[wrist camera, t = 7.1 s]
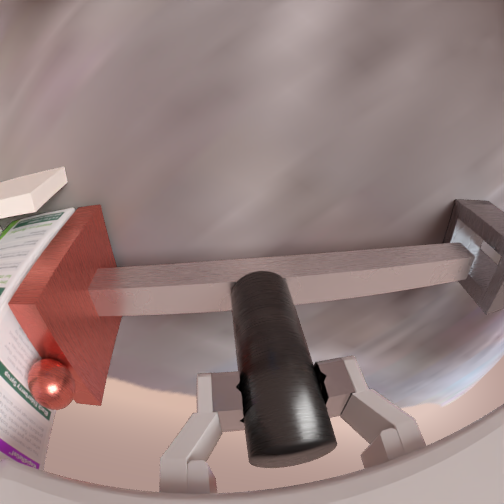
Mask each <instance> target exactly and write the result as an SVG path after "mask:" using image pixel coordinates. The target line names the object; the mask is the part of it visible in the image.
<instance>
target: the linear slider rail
mask: <svg viewBox="0 0 504 504" xmlns="http://www.w3.org/2000/svg"><path fill="white" fill-rule="evenodd" d="M474 259H475V256H474V255H473V254H472V253H471V252H470V251H469V250H468V249H467V248H466V247H465V246H463V245H462V244H461V243H460V242H455V243H443V244H431V245H419V246H407V247H394V248H381V249H369V250H356V251H343V252H330V253H316V254H303V255H289V256H276V257H262V258H248V259H234V260H220V261H206V262H191V263H176V264H162V265H147V266H131V267H117V266H116V262H115V259H114V256H113V252H112V249H111V245H110V241H109V238H108V234H107V230H106V226H105V222H104V218H103V214H102V209H101V205H93V206H86V207H79V208H78V209H77V210H76V211H75V212H74V213H73V215H72V216H71V217H70V218H69V219H68V221H67V222H66V223H65V224H64V225H63V227H62V228H61V229H60V230H59V232H58V233H57V234H56V235H55V237H54V238H53V239H52V241H51V242H50V243H49V245H48V246H47V247H46V249H45V250H44V251H43V253H42V254H41V255H40V257H39V258H38V259H37V261H36V262H35V264H34V265H33V266H32V268H31V269H30V271H29V272H28V274H27V275H26V277H25V278H24V280H23V281H22V283H21V284H20V286H19V287H18V289H17V290H16V292H15V293H14V295H13V297H12V298H11V300H10V301H9V303H8V305H9V307H10V309H11V311H12V312H13V314H14V316H15V317H16V319H17V321H18V323H19V324H20V326H21V327H22V329H23V331H24V332H25V334H26V335H27V337H28V339H29V340H30V342H31V343H32V345H33V346H34V348H35V349H36V351H37V352H38V354H39V355H40V356H41V358H42V360H39V361H37V362H36V363H35V364H34V365H33V366H32V367H31V369H30V371H29V373H28V388H29V391H30V393H31V395H32V397H33V398H34V399H35V400H36V402H38V403H39V404H40V405H41V406H43V407H45V408H47V409H51V410H59V409H63V408H65V407H66V406H68V405H69V404H70V403H71V401H72V400H73V399H74V400H75V402H76V403H80V404H90V405H99V406H101V403H102V398H103V393H104V388H105V383H106V379H107V374H108V370H109V365H110V361H111V357H112V352H113V348H114V344H115V340H116V336H117V333H118V329H119V325H120V321H121V318H122V316H134V315H162V314H183V313H200V312H216V311H230V310H232V316H233V326H234V336H235V346H236V355H237V365H238V371H239V377H240V387H241V395H242V405H243V415H244V426H245V434H246V441H247V449H248V457H249V462H250V464H251V465H254V466H257V467H264V468H279V467H287V466H294V465H298V464H302V463H306V462H309V461H312V460H315V459H318V458H320V457H322V456H324V455H326V454H328V453H330V452H331V451H332V450H334V449H335V447H336V446H337V442H336V438H335V435H334V431H333V428H332V425H331V421H330V418H329V415H328V411H327V408H326V405H325V401H324V398H323V395H322V391H321V388H320V385H319V382H318V378H317V375H316V372H315V369H314V365H313V362H312V359H311V356H310V353H309V350H308V346H307V343H306V340H305V337H304V334H303V331H302V328H301V324H300V321H299V318H298V315H297V312H296V309H295V306H294V305H296V304H305V303H314V302H323V301H331V300H339V299H347V298H355V297H362V296H369V295H376V294H383V293H389V292H396V291H402V290H408V289H415V288H421V287H426V286H432V285H438V284H443V283H449V282H454V281H459V280H464V279H466V278H467V276H468V273H469V271H470V269H471V266H472V264H473V261H474Z"/></svg>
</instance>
